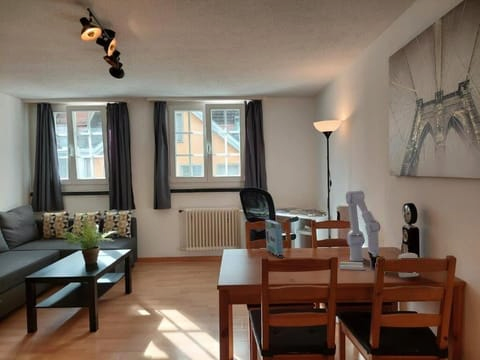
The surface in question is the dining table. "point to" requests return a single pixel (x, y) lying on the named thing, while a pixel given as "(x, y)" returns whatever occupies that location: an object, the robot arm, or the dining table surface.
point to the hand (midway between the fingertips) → (374, 265)
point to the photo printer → (408, 255)
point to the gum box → (274, 237)
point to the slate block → (371, 265)
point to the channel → (351, 265)
